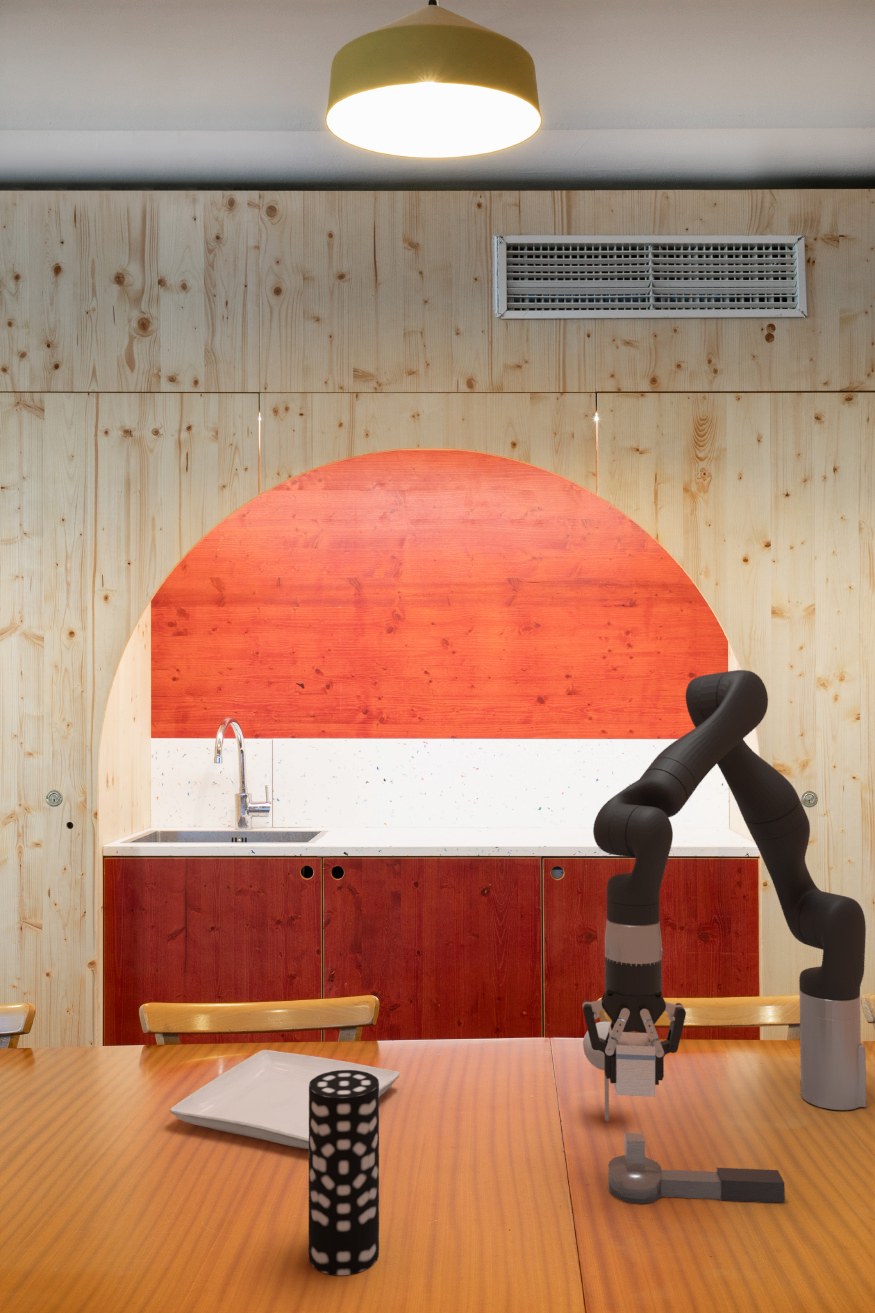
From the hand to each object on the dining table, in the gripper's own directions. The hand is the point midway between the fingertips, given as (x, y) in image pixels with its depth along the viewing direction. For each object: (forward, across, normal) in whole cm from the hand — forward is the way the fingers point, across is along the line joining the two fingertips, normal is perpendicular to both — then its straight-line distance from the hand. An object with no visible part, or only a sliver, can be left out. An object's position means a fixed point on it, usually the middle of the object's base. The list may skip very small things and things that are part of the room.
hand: (633, 1081), depth 131 cm
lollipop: (+14, +2, -21) cm, 26 cm away
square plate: (+15, +52, -21) cm, 58 cm away
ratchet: (+14, -8, 0) cm, 16 cm away
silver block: (+1, 0, 0) cm, 1 cm away
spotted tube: (+15, +36, +18) cm, 43 cm away
